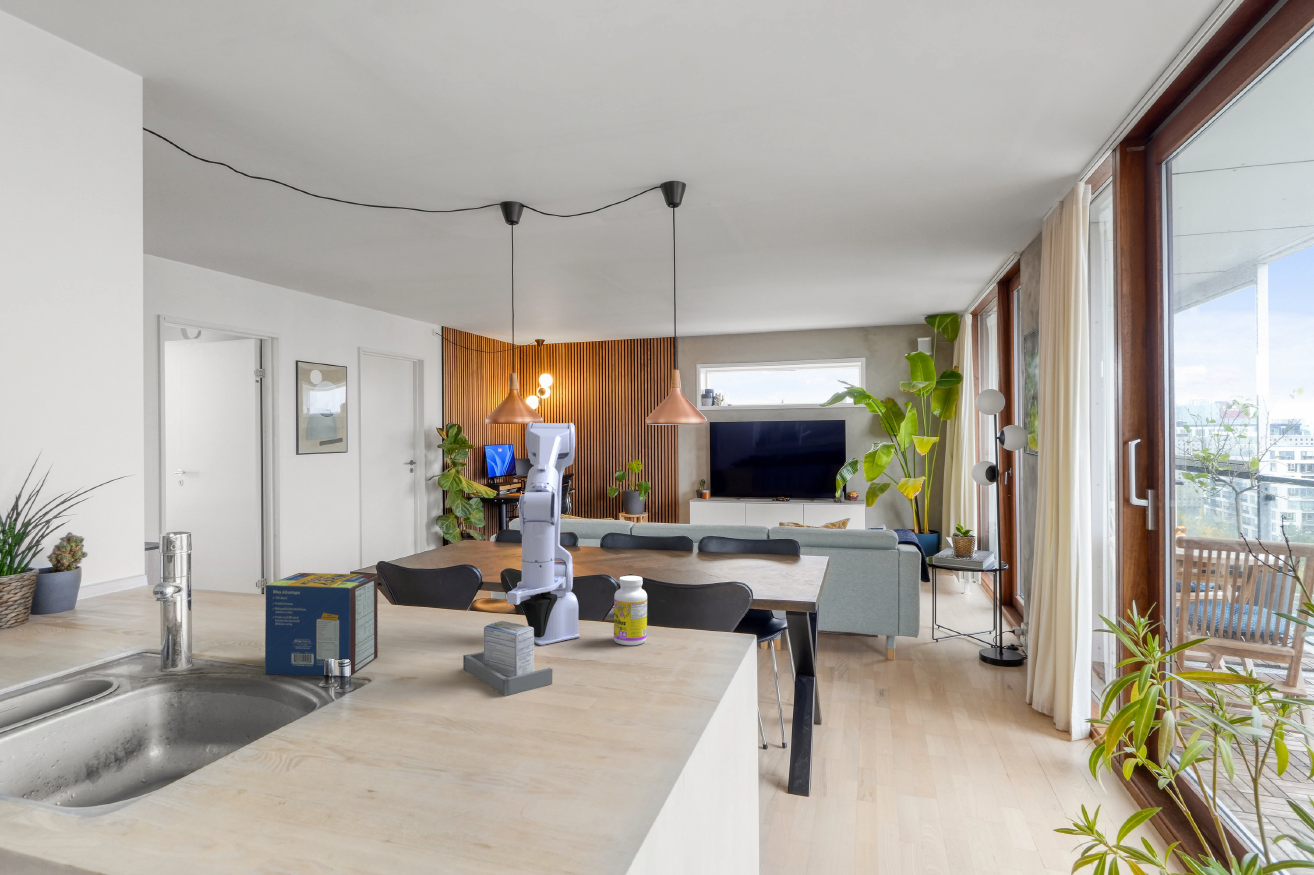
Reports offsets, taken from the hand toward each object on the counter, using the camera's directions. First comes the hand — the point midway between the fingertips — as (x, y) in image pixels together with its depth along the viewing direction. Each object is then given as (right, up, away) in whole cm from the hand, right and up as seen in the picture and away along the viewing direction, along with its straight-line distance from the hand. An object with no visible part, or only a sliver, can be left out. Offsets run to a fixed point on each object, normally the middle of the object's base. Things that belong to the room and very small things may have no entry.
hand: (537, 636), depth 123 cm
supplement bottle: (+16, -6, +17) cm, 24 cm away
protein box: (-38, -6, +1) cm, 39 cm away
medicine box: (-4, -6, -4) cm, 8 cm away
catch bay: (-5, -6, -4) cm, 8 cm away
